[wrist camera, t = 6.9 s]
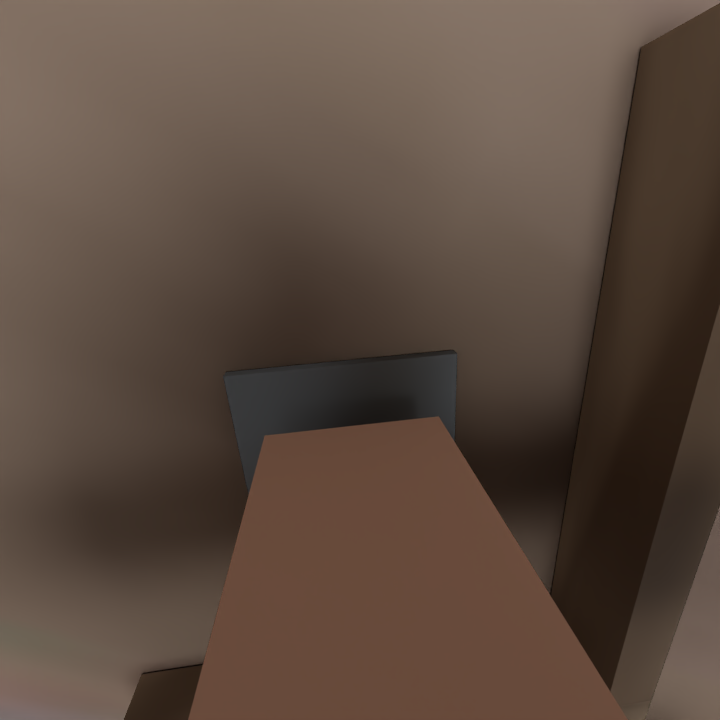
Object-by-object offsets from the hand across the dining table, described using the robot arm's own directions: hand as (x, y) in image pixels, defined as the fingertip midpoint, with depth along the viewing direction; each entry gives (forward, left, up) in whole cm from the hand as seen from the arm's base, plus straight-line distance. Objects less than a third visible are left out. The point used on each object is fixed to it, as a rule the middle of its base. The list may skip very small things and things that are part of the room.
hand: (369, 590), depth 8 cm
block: (0, 0, -1) cm, 1 cm away
